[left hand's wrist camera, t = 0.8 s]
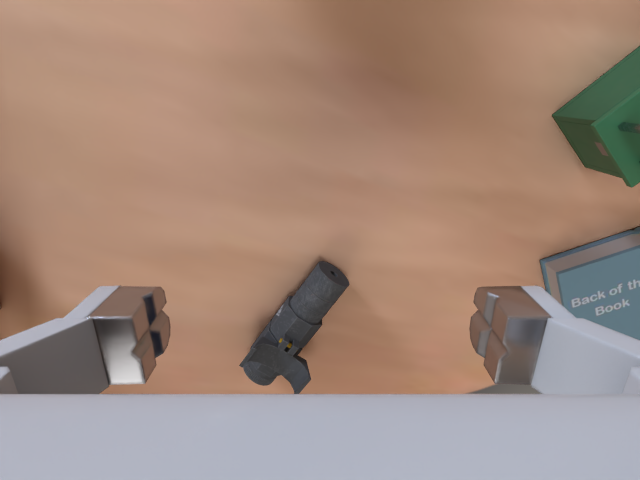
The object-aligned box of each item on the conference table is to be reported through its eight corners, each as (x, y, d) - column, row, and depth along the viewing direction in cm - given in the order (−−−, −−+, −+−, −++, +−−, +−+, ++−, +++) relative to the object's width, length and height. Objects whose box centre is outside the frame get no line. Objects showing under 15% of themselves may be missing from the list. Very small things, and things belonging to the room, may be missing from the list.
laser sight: (358, 280, 61) (365, 315, 52) (282, 375, 68) (276, 420, 59) (307, 248, 59) (304, 278, 50) (233, 349, 66) (219, 391, 57)
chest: (585, 167, 55) (632, 181, 47) (551, 115, 52) (595, 120, 44) (673, 102, 52) (741, 105, 43) (642, 43, 49) (708, 34, 41)
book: (539, 260, 60) (558, 274, 55) (648, 223, 58) (677, 235, 53) (562, 370, 68) (580, 391, 63) (659, 341, 65) (685, 361, 61)
